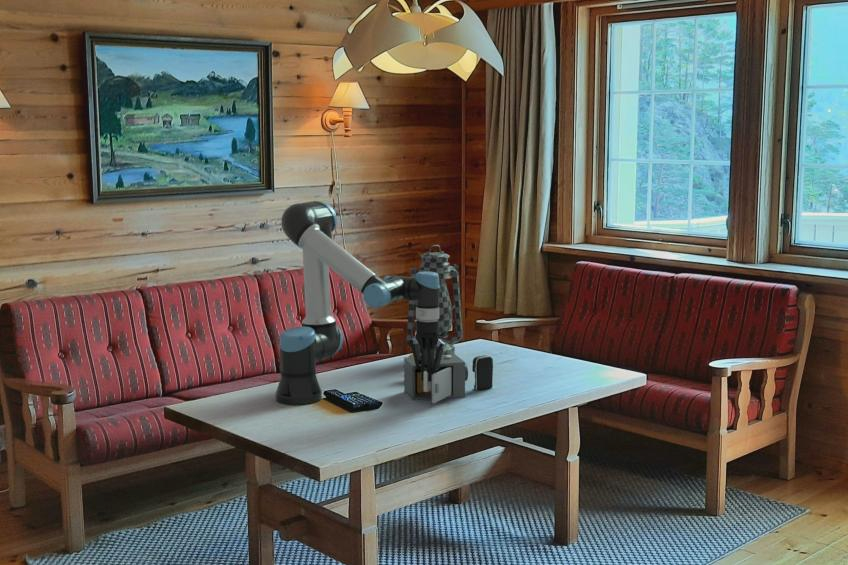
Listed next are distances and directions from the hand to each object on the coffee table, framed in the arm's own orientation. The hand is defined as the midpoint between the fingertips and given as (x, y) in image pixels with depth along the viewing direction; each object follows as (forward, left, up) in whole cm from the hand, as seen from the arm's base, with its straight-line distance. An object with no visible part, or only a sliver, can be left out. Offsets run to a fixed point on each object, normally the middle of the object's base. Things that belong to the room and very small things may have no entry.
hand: (427, 390), depth 332 cm
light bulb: (+4, +31, -5) cm, 31 cm away
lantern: (+18, +56, -5) cm, 59 cm away
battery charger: (+23, +14, -5) cm, 27 cm away
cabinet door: (+5, 0, -3) cm, 6 cm away
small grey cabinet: (+6, +11, -5) cm, 13 cm away
